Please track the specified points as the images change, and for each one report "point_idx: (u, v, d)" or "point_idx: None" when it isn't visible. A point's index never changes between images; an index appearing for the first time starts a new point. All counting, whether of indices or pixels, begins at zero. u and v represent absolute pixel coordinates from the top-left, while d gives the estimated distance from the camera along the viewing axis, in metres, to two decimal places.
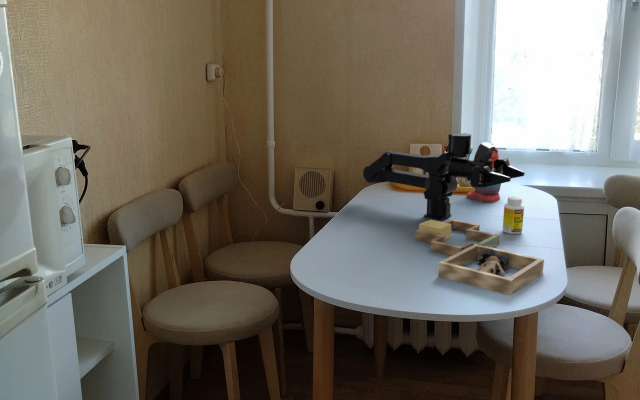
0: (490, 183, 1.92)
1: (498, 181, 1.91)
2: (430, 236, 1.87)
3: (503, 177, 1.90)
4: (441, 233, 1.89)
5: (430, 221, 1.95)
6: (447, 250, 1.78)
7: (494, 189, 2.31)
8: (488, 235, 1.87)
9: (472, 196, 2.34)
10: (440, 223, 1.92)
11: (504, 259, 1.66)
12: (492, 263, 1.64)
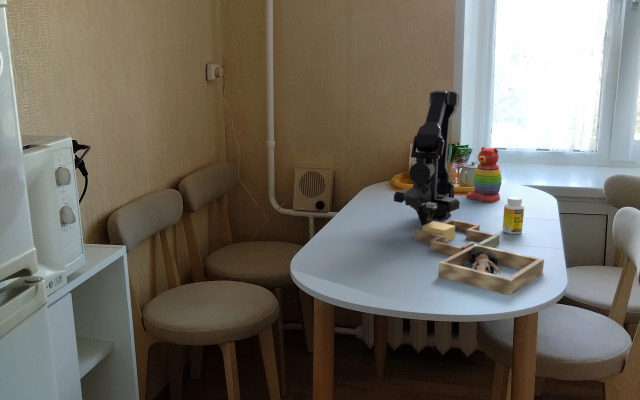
0: None
1: None
2: (430, 236, 1.87)
3: None
4: (445, 235, 1.87)
5: (434, 223, 1.93)
6: (447, 250, 1.78)
7: (494, 189, 2.31)
8: (488, 235, 1.87)
9: (472, 196, 2.34)
10: (444, 225, 1.91)
11: (492, 256, 1.68)
12: (484, 261, 1.65)
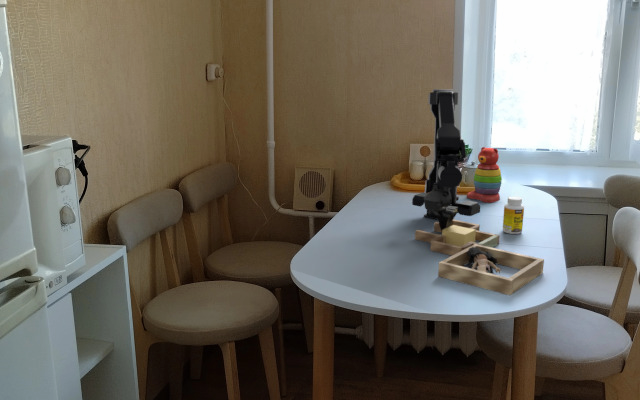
0: None
1: None
2: (430, 236, 1.87)
3: None
4: (465, 239, 1.83)
5: (454, 226, 1.89)
6: (447, 250, 1.78)
7: (494, 189, 2.31)
8: (488, 235, 1.87)
9: (472, 196, 2.34)
10: (464, 229, 1.87)
11: (491, 256, 1.68)
12: (483, 261, 1.65)
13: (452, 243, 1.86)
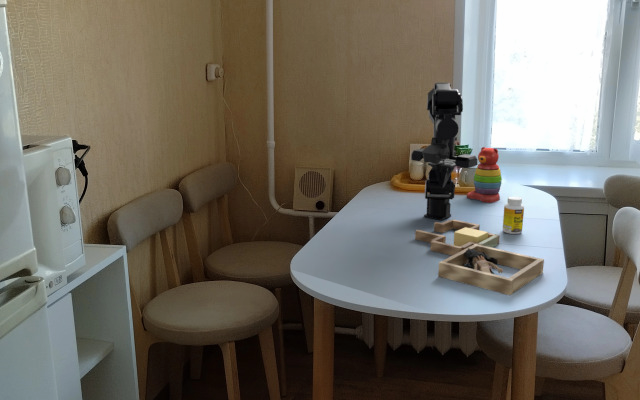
0: None
1: None
2: (430, 236, 1.87)
3: None
4: (477, 242, 1.81)
5: (465, 229, 1.87)
6: (447, 250, 1.78)
7: (494, 189, 2.31)
8: (488, 235, 1.87)
9: (472, 196, 2.34)
10: (476, 231, 1.85)
11: (488, 257, 1.68)
12: (484, 263, 1.64)
13: None
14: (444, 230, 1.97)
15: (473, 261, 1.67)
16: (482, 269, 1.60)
